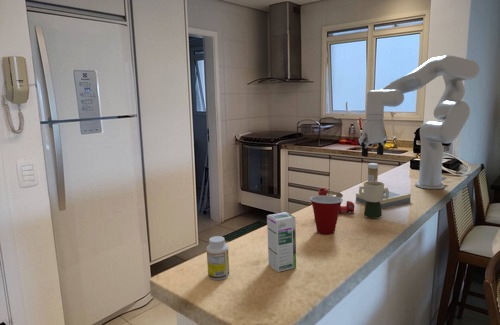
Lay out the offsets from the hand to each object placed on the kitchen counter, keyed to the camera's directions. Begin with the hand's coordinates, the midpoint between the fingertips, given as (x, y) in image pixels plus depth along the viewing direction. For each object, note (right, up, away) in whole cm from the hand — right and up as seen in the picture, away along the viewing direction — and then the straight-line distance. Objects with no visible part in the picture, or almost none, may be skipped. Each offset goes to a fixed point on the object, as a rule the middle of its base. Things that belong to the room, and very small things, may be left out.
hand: (372, 155), depth 163 cm
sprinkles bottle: (+1, -17, +3) cm, 17 cm away
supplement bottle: (-64, -33, -70) cm, 101 cm away
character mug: (-10, -24, -30) cm, 40 cm away
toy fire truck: (-23, -23, -24) cm, 40 cm away
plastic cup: (-31, -27, -43) cm, 59 cm away
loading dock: (0, -20, -12) cm, 23 cm away
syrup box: (-48, -32, -66) cm, 87 cm away
